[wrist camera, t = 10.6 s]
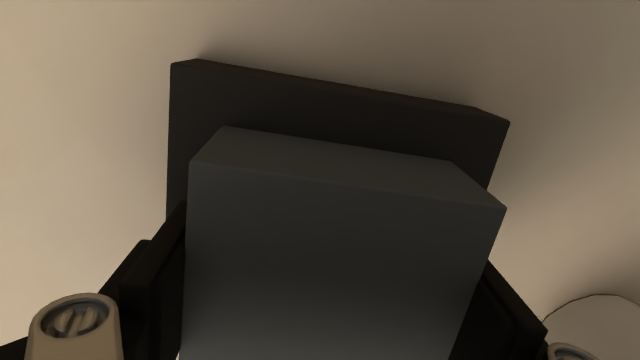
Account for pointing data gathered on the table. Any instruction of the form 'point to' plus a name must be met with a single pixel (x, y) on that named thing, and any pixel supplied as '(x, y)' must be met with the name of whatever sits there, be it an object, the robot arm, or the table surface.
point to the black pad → (320, 118)
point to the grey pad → (328, 251)
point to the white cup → (598, 327)
